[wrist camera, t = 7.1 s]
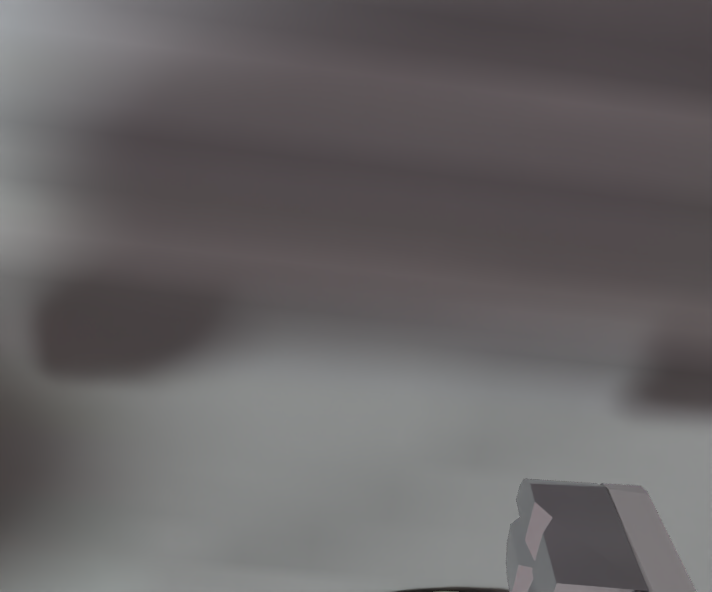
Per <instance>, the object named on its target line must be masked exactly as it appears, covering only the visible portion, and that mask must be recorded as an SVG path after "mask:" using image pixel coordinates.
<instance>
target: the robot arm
mask: <svg viewBox="0 0 712 592" xmlns="http://www.w3.org/2000/svg"><path fill="white" fill-rule="evenodd" d="M516 502H517V507H518V511H519V516H520V517H519V518H518V519H517V520H515V521H514V522H513V523H511V524H510V529H509V534H508V539H507V552H506V569H507V580H508V586H509V592H697V591H696V589H695V587H694V585H693V583H692V581H691V579H690V577H689V575H688V573H687V571H686V569H685V567H684V565H683V563H682V561H681V559H680V557H679V555H678V553H677V551H676V549H675V546H674V544H673V542H672V540H671V538H670V536H669V534H668V532H667V530H666V528H665V526H664V524H663V522H662V520H661V518H660V516H659V514H658V512H657V510H656V508H655V506H654V504H653V502H652V500H651V498H650V496H649V494H648V492H647V491H646V490H645V489H644V488H643V487H642V486H638V485H621V484H605V483H602V484H597V483H584V482H569V481H554V480H539V479H523V481H522V483H521V484H520V486H519V490H518V494H517V498H516Z"/></svg>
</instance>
